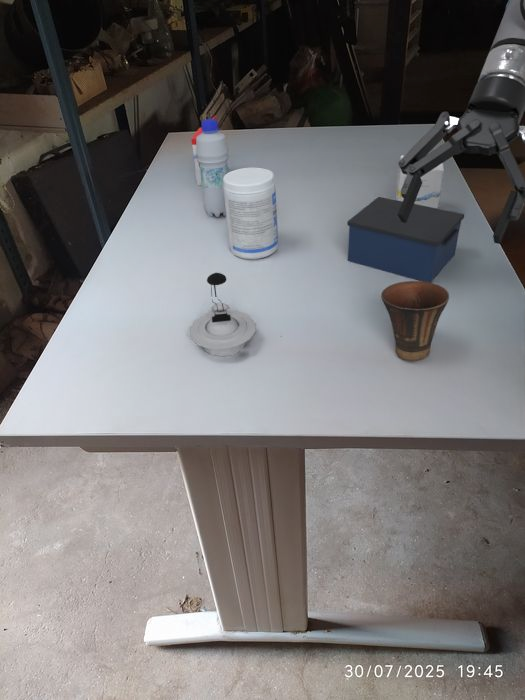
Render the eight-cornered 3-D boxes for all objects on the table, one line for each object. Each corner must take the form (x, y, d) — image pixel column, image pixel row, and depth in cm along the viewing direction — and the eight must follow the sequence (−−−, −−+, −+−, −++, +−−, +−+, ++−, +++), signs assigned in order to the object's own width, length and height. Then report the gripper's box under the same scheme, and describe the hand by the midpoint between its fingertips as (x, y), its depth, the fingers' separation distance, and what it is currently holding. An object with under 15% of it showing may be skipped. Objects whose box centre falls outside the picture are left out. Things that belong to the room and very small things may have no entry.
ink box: (436, 226, 110) (445, 169, 103) (393, 224, 112) (399, 168, 104) (434, 208, 117) (442, 154, 109) (394, 207, 118) (399, 153, 111)
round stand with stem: (248, 252, 79) (179, 259, 78) (255, 287, 71) (179, 295, 71) (253, 320, 87) (191, 327, 86) (260, 359, 79) (192, 367, 78)
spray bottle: (204, 173, 141) (197, 114, 132) (222, 173, 140) (217, 114, 131) (196, 186, 134) (188, 124, 125) (216, 186, 133) (209, 124, 124)
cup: (397, 324, 84) (404, 267, 78) (450, 346, 79) (462, 288, 73) (363, 350, 79) (368, 292, 73) (417, 376, 74) (427, 316, 68)
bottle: (220, 204, 124) (210, 113, 112) (239, 212, 120) (232, 118, 108) (197, 214, 121) (185, 120, 108) (217, 222, 117) (206, 126, 104)
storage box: (459, 254, 100) (466, 214, 95) (433, 285, 92) (440, 243, 87) (373, 234, 109) (376, 196, 104) (343, 260, 101) (345, 220, 96)
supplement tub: (287, 252, 104) (285, 178, 95) (243, 266, 101) (236, 190, 92) (263, 234, 111) (259, 162, 102) (221, 246, 108) (213, 173, 99)
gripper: (413, 66, 79) (359, 200, 79) (604, 80, 67) (541, 239, 67) (423, 96, 85) (373, 220, 85) (598, 115, 73) (540, 259, 73)
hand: (447, 229), depth 76 cm, fingers open, 13 cm apart
